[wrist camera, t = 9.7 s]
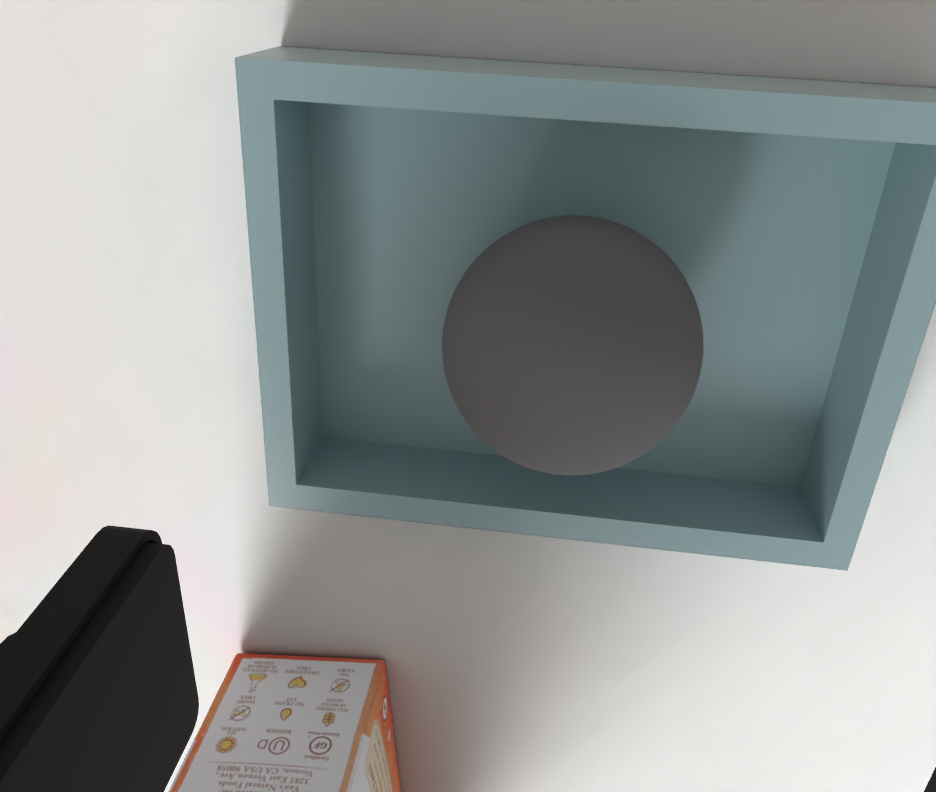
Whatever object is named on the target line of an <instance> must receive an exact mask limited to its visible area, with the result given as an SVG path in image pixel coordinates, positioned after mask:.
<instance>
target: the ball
mask: <svg viewBox="0 0 936 792" xmlns="http://www.w3.org/2000/svg"><path fill="white" fill-rule="evenodd" d="M703 352H704V345H703V329H702V323H701V317H700V312H699V309H698V306H697V303H696V300H695V297H694V295H693V293H692V291H691V289H690V287H689V285H688V283H687V281H686V279H685V277H684V275H683V274H682V273H681V271H680V270H679V268H678V267H677V265H676V264H675V263H674V262H673V261H672V259H671V258H670V257H669V256H668V255H667V254H666V253H665V252H664V251H663V250H662V249H661V248H659V247H658V246H657V245H656V244H654V243H653V242H652V241H651V240H649V239H648V238H646V237H645V236H643V235H641V234H640V233H638V232H636V231H635V230H633V229H631V228H629V227H626V226H624V225H622V224H619V223H617V222H613V221H610V220H606V219H603V218H597V217H590V216H577V215H566V216H557V217H550V218H545V219H541V220H537V221H534V222H531V223H528V224H526V225H523V226H521V227H518V228H517V229H515V230H513V231H511V232H509V233H507V234H506V235H504V236H502V237H501V238H499V239H498V240H497V241H495V242H494V243H493V244H491V245H490V246H488V247H487V248H486V249H485V250H484V251H483V252H482V253H481V254H480V255H479V256H478V257H477V258H476V259H475V260H474V262H473V263H472V264H471V265H470V267H469V268H468V269H467V270H466V272H465V273H464V275H463V277H462V278H461V280H460V282H459V283H458V285H457V287H456V288H455V290H454V293H453V295H452V298H451V300H450V303H449V305H448V309H447V313H446V317H445V321H444V326H443V335H442V358H443V366H444V372H445V377H446V381H447V384H448V387H449V390H450V393H451V395H452V397H453V399H454V401H455V404H456V406H457V408H458V410H459V412H460V413H461V415H462V416H463V418H464V419H465V421H466V422H467V424H468V425H469V426H470V427H471V428H472V430H473V431H474V432H475V433H476V434H477V435H478V436H479V437H480V438H481V439H482V440H483V441H484V442H485V443H486V444H487V445H489V446H490V447H491V448H492V449H493V450H495V451H496V452H498V453H499V454H500V455H502V456H504V457H505V458H507V459H509V460H511V461H513V462H514V463H517V464H519V465H522V466H524V467H527V468H529V469H533V470H536V471H540V472H544V473H550V474H556V475H571V476H573V475H588V474H594V473H600V472H604V471H608V470H611V469H615V468H617V467H620V466H622V465H625V464H627V463H629V462H631V461H633V460H635V459H636V458H638V457H640V456H642V455H643V454H645V453H646V452H647V451H649V450H650V449H651V448H653V447H654V446H655V445H657V444H658V443H659V442H660V441H661V440H662V439H663V438H664V437H665V436H667V435H668V434H669V433H670V431H671V430H672V429H673V428H674V426H675V425H676V424H677V423H678V421H679V420H680V418H681V417H682V415H683V413H684V412H685V410H686V408H687V407H688V405H689V403H690V401H691V399H692V397H693V394H694V392H695V390H696V387H697V383H698V380H699V376H700V372H701V367H702V360H703Z"/></svg>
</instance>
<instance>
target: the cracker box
mask: <svg viewBox="0 0 936 792" xmlns="http://www.w3.org/2000/svg"><path fill="white" fill-rule="evenodd" d="M169 792H401V787H400V779H399V771H398V763H397V755H396V747H395V739H394V730H393V722H392V714H391V706H390V698H389V689H388V681H387V673H386V666H385V661H383V660H379V659H349V658H332V657H307V656H292V655H270V654H246V653H238V654H237V655H236V656H235V658H234V660H233V662H232V664H231V666H230V668H229V670H228V672H227V674H226V676H225V679H224V681H223V683H222V685H221V687H220V689H219V691H218V693H217V695H216V697H215V699H214V701H213V703H212V705H211V707H210V709H209V712H208V714H207V716H206V718H205V720H204V722H203V724H202V726H201V728H200V730H199V732H198V734H197V736H196V737H195V739H194V741H193V743H192V745H191V747H190V749H189V751H188V753H187V755H186V757H185V759H184V761H183V763H182V765H181V767H180V769H179V771H178V773H177V775H176V778H175V780H174V782H173V784H172V786H171V788H170V790H169Z"/></svg>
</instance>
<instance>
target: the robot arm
mask: <svg viewBox="0 0 936 792" xmlns="http://www.w3.org/2000/svg"><path fill="white" fill-rule="evenodd" d="M198 708H199V701H198V694H197V687H196V681H195V675H194V669H193V663H192V657H191V651H190V645H189V639H188V633H187V626H186V620H185V614H184V608H183V602H182V596H181V590H180V584H179V578H178V572H177V565H176V559H175V554H174V550H173V548H172V547H171V546H170V545H165V544H162V541H161V538H160V536H159V534H158V533H157V532H155V531H152V530H143V529H134V528H125V527H117V526H106V527H104V528H102V529H101V530H100V531H99V532H98V533H97V534H96V535H95V536H94V537H93V539H92V540H91V541H90V542H89V544H88V545H87V546H86V547H85V549H84V550H83V551H82V552H81V553H80V555H79V556H78V557H77V558H76V560H75V561H74V562H73V563H72V565H71V566H70V567H69V568H68V569H67V571H66V572H65V573H64V574H63V576H62V577H61V578H60V579H59V580H58V582H57V583H56V584H55V585H54V587H53V588H52V589H51V590H50V592H49V593H48V594H47V595H46V596H45V598H44V599H43V600H42V601H41V603H40V604H39V605H38V606H37V608H36V609H35V610H34V611H33V612H32V614H31V615H30V616H29V617H28V619H27V620H26V621H25V622H24V624H23V625H22V626H21V627H20V628H19V630H18V631H17V632H16V633H14V634H12V635H10V636H8V637H7V638H6V639H5V640H4V641H3V642H2V643H1V644H0V792H164V790H165V788H166V786H167V784H168V782H169V780H170V778H171V776H172V774H173V771H174V769H175V767H176V765H177V763H178V761H179V759H180V757H181V755H182V753H183V751H184V749H185V747H186V745H187V743H188V741H189V739H190V737H191V735H192V732H193V730H194V727H195V724H196V720H197V716H198ZM924 792H936V768H935V770H934V772H933V774H932V776H931V778H930V780H929V782H928V784H927V786H926V788H925V790H924Z"/></svg>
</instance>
